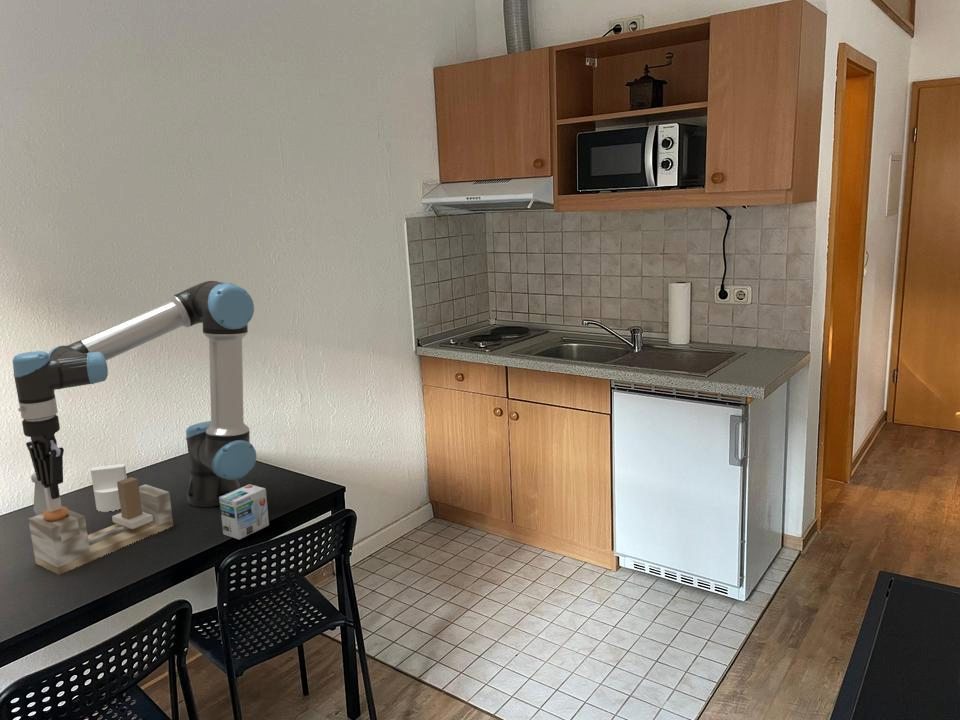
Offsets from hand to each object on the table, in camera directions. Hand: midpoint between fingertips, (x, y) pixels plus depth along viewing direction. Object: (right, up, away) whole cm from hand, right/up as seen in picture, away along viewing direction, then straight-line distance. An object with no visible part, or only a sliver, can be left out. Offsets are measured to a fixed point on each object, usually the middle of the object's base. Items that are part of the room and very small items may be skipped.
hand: (54, 509), depth 184 cm
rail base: (+7, -11, +12) cm, 18 cm away
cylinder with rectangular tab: (-4, -6, +37) cm, 38 cm away
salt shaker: (-20, -8, +31) cm, 38 cm away
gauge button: (0, -5, +1) cm, 6 cm away
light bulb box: (+41, -9, +18) cm, 46 cm away
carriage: (+11, -7, +18) cm, 22 cm away
